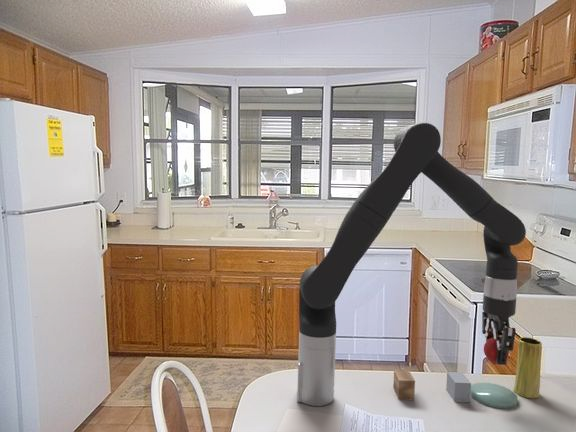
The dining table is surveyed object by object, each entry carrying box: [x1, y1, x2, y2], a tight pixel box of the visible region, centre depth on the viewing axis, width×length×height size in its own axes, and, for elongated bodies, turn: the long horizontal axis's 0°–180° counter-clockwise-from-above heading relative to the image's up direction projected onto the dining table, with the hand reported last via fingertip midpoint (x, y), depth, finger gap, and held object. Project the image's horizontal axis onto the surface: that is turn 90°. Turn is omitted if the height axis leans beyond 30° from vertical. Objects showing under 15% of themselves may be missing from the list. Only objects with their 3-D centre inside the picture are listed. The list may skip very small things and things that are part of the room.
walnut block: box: [392, 369, 416, 401], centre depth 113 cm, size 4×6×5 cm, turn 178°
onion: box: [483, 335, 510, 365], centre depth 112 cm, size 6×6×8 cm
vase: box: [513, 336, 543, 399], centre depth 115 cm, size 6×6×14 cm
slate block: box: [445, 371, 472, 403], centre depth 113 cm, size 4×6×5 cm, turn 178°
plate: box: [470, 382, 518, 409], centre depth 113 cm, size 11×11×1 cm
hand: (495, 358), depth 112 cm, fingers closed on onion, 6 cm apart
